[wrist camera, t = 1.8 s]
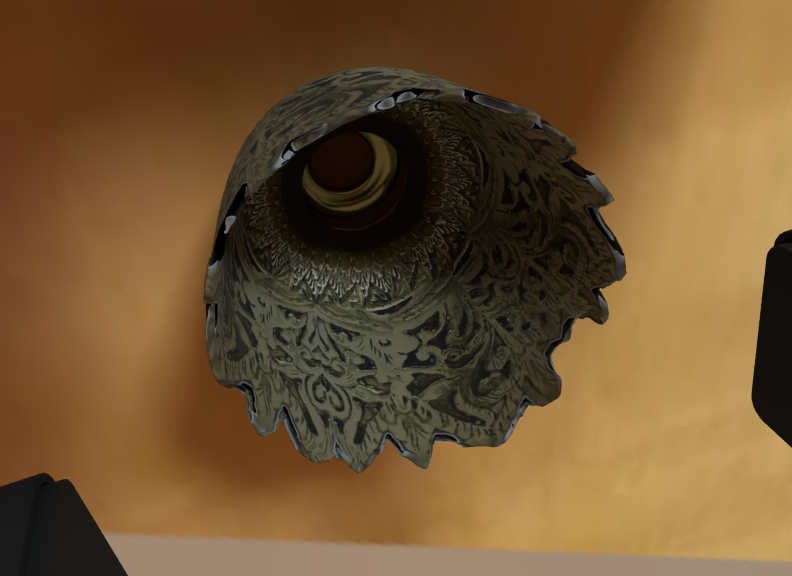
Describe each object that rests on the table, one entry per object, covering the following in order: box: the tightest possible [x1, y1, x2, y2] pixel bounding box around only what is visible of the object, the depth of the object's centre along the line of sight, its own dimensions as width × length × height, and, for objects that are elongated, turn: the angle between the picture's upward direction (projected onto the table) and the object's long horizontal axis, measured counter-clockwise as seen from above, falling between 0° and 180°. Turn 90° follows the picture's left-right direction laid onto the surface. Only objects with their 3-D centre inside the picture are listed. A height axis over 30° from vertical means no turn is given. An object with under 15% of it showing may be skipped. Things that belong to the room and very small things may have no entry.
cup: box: [204, 67, 626, 473], centre depth 16 cm, size 8×7×8 cm
